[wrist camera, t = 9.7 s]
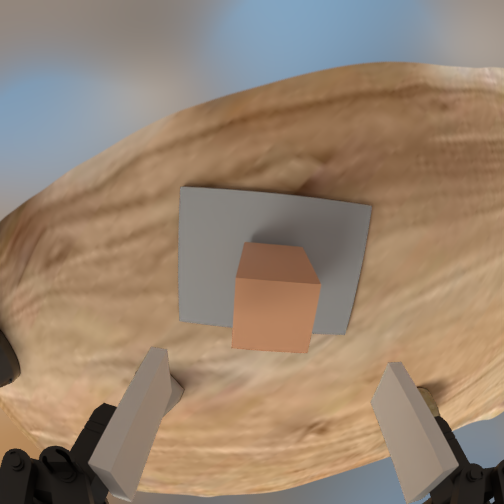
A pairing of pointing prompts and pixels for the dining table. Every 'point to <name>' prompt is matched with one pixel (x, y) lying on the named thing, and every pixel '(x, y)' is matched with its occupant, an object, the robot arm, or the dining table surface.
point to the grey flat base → (268, 232)
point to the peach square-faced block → (274, 299)
